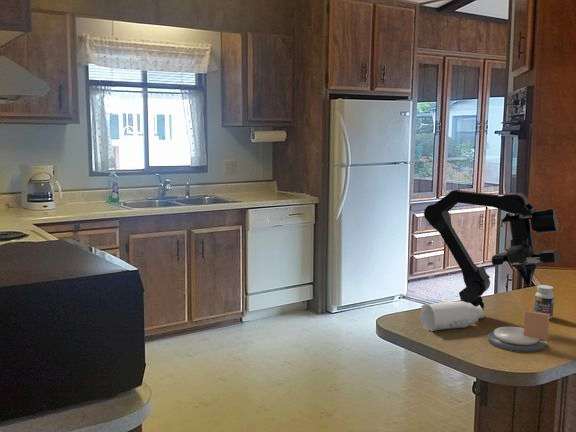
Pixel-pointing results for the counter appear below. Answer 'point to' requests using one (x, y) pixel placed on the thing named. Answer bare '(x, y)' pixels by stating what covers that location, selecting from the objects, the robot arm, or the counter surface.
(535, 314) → the dial
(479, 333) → the counter surface
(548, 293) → the pill bottle
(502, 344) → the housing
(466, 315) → the white bottle
